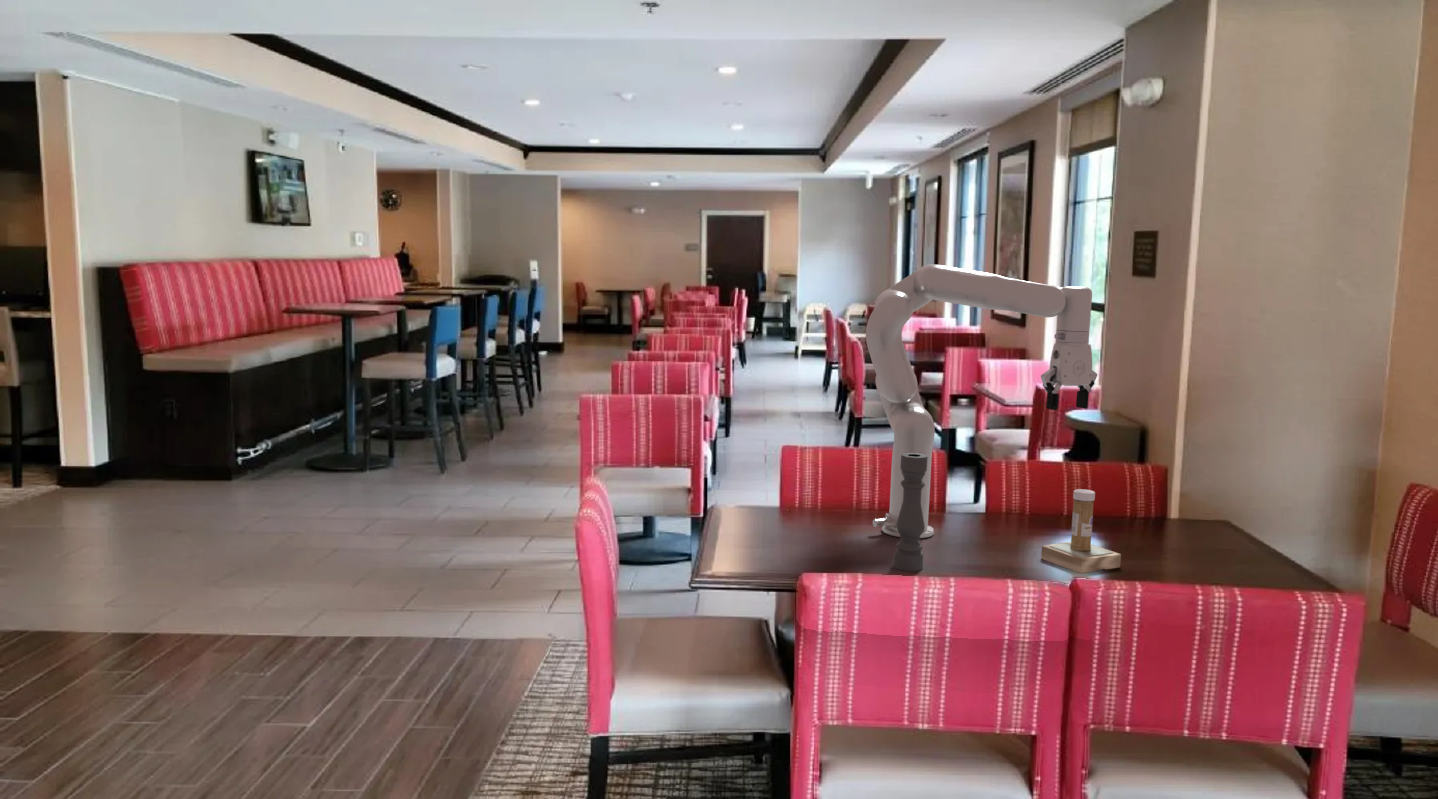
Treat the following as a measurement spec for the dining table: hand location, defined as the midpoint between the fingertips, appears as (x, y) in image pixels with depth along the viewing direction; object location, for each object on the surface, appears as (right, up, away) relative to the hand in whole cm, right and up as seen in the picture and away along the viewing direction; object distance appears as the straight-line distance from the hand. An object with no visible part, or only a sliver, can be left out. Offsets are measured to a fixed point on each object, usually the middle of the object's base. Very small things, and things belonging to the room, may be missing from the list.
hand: (1067, 408), depth 251 cm
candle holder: (-43, -35, -23) cm, 60 cm away
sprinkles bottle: (-3, -32, -17) cm, 36 cm away
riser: (-3, -35, -16) cm, 39 cm away
